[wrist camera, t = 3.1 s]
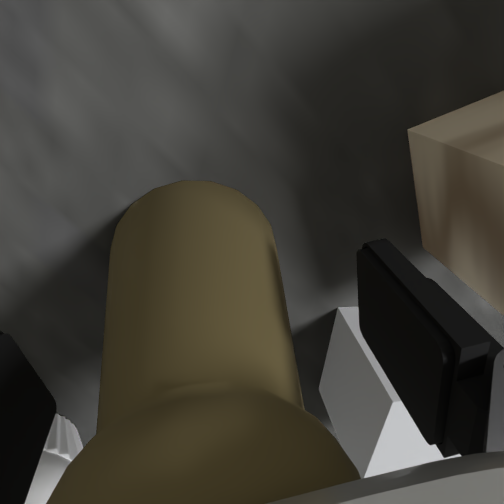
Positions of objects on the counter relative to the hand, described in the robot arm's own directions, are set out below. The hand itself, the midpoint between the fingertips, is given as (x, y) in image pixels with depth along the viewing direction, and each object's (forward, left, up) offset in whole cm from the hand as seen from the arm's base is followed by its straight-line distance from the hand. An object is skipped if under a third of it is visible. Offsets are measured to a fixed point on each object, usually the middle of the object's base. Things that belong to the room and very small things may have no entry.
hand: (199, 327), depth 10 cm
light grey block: (-7, -7, -4) cm, 11 cm away
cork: (0, 0, -4) cm, 4 cm away
